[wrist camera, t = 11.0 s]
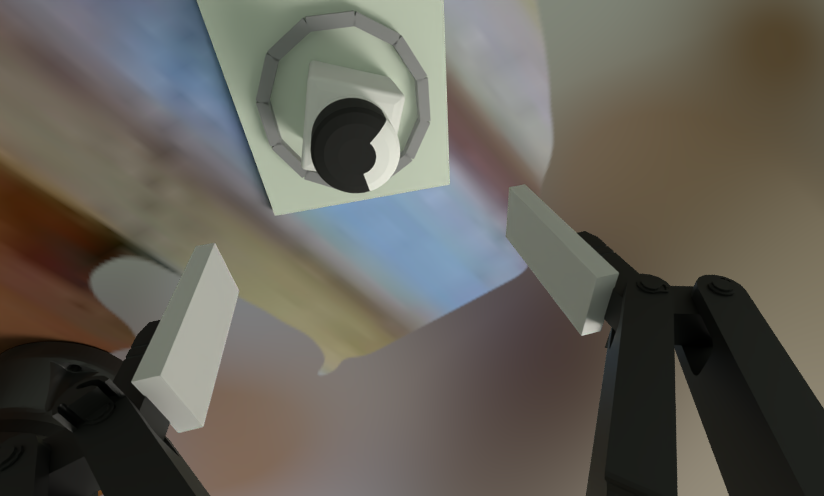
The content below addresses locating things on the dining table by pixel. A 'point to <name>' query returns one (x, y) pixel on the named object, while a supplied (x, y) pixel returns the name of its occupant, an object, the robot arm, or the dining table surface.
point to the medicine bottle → (351, 127)
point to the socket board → (339, 45)
